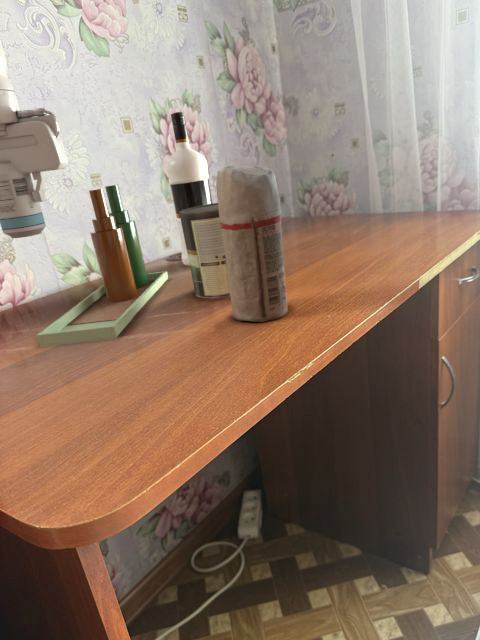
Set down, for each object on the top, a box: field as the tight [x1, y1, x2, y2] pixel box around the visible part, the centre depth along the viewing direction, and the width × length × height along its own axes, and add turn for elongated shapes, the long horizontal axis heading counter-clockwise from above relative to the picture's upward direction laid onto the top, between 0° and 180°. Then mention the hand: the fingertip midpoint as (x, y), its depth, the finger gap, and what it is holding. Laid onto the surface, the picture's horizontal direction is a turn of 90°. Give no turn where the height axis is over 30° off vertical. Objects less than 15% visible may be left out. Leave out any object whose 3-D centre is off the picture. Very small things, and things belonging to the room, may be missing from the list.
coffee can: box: [179, 202, 230, 299], centre depth 82 cm, size 10×10×14 cm
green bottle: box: [104, 184, 150, 290], centre depth 91 cm, size 5×5×18 cm
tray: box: [36, 270, 169, 348], centre depth 83 cm, size 11×31×2 cm, turn 177°
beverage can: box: [0, 161, 47, 239], centre depth 84 cm, size 7×7×12 cm
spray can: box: [215, 165, 289, 323], centre depth 67 cm, size 8×8×20 cm
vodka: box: [165, 111, 213, 266], centre depth 103 cm, size 9×9×30 cm
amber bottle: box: [88, 187, 139, 303], centre depth 84 cm, size 5×5×18 cm
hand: (17, 204), depth 84 cm, fingers closed on beverage can, 7 cm apart
